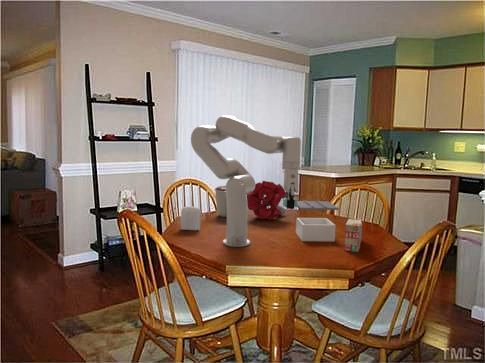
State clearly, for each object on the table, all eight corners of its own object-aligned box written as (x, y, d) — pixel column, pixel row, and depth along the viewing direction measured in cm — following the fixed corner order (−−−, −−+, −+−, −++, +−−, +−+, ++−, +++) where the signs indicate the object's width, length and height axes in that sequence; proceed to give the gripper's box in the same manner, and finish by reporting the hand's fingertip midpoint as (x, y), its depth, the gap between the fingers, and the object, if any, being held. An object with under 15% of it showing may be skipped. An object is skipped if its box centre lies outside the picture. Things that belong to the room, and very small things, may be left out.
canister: (213, 212, 260) (214, 179, 257) (242, 212, 261) (243, 180, 258) (213, 218, 242) (214, 183, 239) (244, 219, 243) (245, 184, 240)
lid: (286, 209, 169) (287, 202, 168) (280, 202, 185) (280, 195, 185) (338, 209, 170) (339, 202, 170) (328, 203, 186) (328, 196, 186)
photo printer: (200, 229, 216) (201, 206, 214) (199, 231, 212) (199, 207, 210) (181, 228, 217) (182, 205, 215) (179, 230, 213) (179, 206, 211)
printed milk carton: (348, 239, 203) (349, 215, 202) (361, 240, 201) (363, 216, 200) (343, 250, 183) (345, 224, 182) (358, 252, 181) (360, 225, 180)
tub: (334, 241, 198) (335, 225, 197) (302, 241, 197) (302, 224, 196) (325, 233, 214) (326, 218, 213) (295, 232, 213) (296, 217, 212)
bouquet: (261, 223, 262) (234, 205, 241) (275, 190, 267) (250, 170, 246) (288, 232, 248) (262, 213, 226) (302, 197, 253) (278, 176, 231)
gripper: (303, 167, 167) (302, 211, 169) (296, 164, 183) (294, 204, 185) (285, 167, 166) (284, 211, 169) (279, 164, 183) (278, 204, 185)
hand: (289, 207), depth 177 cm, fingers closed on lid, 3 cm apart
